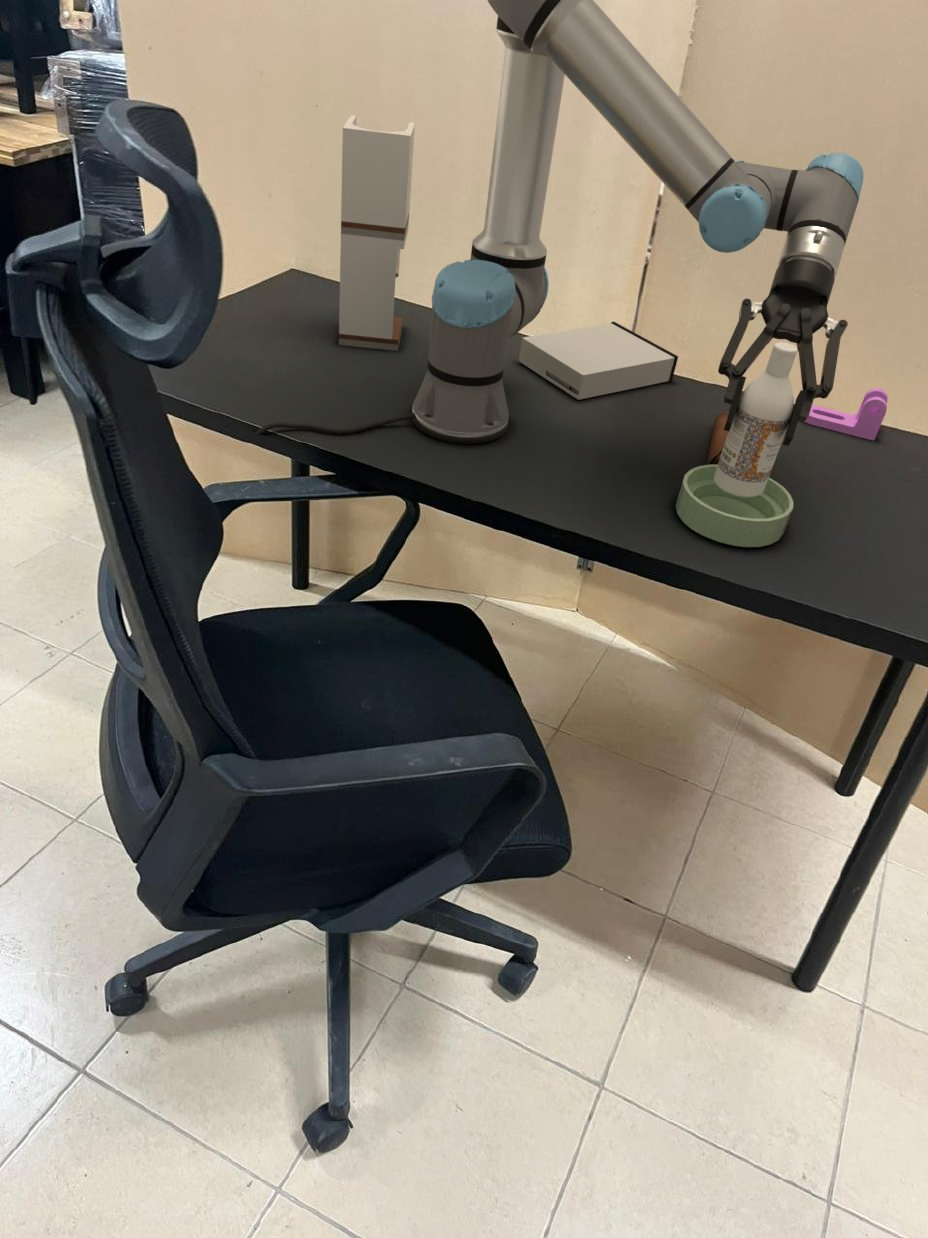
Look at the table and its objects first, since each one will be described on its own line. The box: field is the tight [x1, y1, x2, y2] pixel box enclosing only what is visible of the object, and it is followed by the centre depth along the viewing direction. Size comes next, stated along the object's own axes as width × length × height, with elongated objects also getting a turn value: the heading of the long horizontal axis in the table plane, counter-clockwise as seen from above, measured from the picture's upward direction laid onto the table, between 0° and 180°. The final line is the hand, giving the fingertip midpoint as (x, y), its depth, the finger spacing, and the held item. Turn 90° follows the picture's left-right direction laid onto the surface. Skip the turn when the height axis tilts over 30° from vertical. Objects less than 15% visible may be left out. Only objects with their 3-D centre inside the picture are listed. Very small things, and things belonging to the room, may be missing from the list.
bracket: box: [804, 387, 888, 442], centre depth 155 cm, size 13×6×7 cm, turn 67°
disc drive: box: [518, 321, 679, 401], centre depth 163 cm, size 18×22×5 cm
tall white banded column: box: [338, 114, 416, 352], centre depth 156 cm, size 11×11×35 cm
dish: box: [675, 464, 795, 548], centre depth 126 cm, size 15×15×4 cm
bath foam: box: [714, 341, 798, 497], centre depth 118 cm, size 7×7×20 cm
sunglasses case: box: [706, 411, 729, 465], centre depth 142 cm, size 18×7×7 cm, turn 164°
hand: (757, 433), depth 115 cm, fingers closed on bath foam, 7 cm apart
